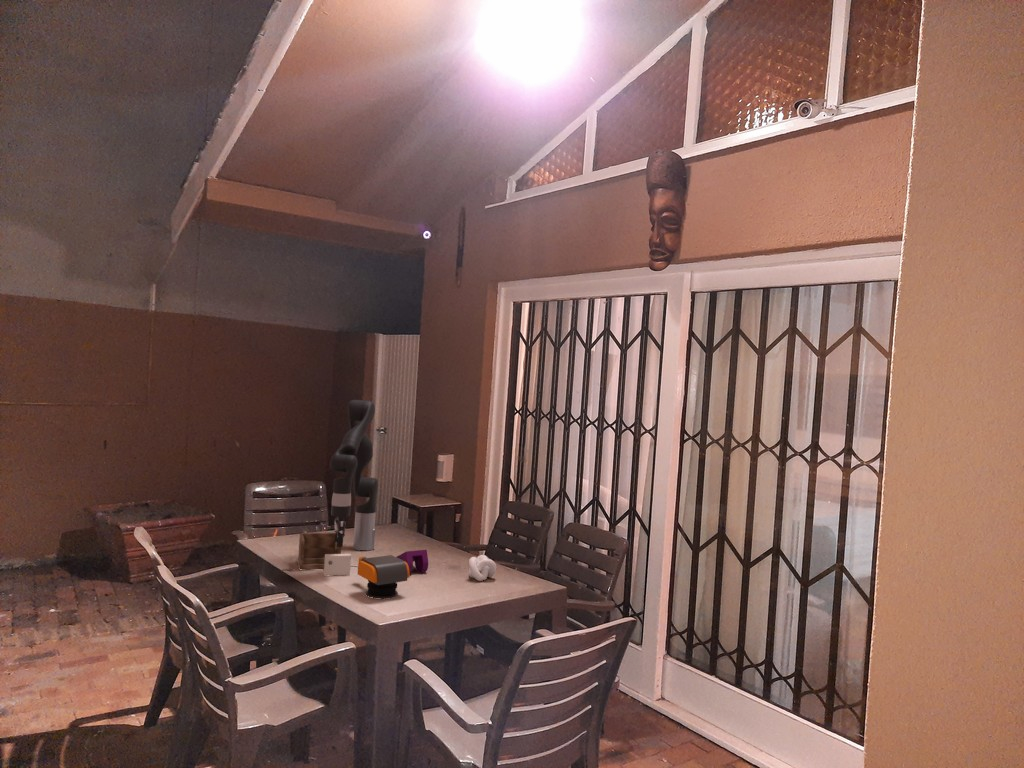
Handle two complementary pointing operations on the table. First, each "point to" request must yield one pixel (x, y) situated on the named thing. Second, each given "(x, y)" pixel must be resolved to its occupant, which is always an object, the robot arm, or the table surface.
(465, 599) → the table surface
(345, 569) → the door
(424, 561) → the mounting bracket
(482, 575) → the white knot
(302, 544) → the cabinet
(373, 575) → the sander
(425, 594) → the table surface
